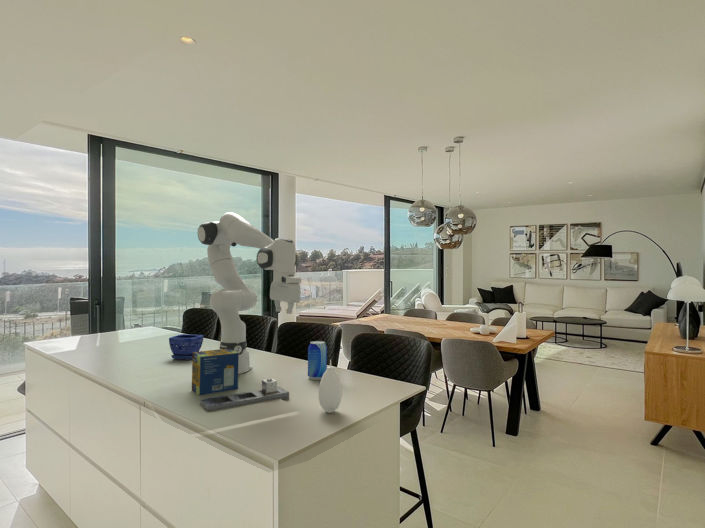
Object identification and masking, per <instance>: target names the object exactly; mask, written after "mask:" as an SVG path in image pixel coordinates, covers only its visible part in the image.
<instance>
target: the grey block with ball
mask: <svg viewBox="0 0 705 528" xmlns="http://www.w3.org/2000/svg"><path fill="white" fill-rule="evenodd" d="M277 387H278V380H277V379H275V378H266V379H262V380H261V389H262V393H263V394H264V395H269V394H274V393H277Z"/></svg>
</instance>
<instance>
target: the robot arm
mask: <svg viewBox="0 0 705 528" xmlns="http://www.w3.org/2000/svg"><path fill="white" fill-rule="evenodd" d="M197 238H198V241H199V242H200V243H201V244H203V245H205V246H207V248H206V249H207V250H206V251H207V259H208V263H209V267H210V270H211V273H212V276H213V279H214V281H215V282H216V284H218V285H219V286H220V287H222V289H220V290H219V289H218V290H217V291H214V292H213V293H211V295H210V298H209V305H210V309H211V310H213V312H215V313H216V315H217V316H218V318H219V323H220V327H221V329H220V330H221V331H220V332H221V335H220V336H221V339H220V340H221V341H220V343H219V349H227V348H230V349H232V350H234V351H235V352H237V353H239V360H238V375H239V374H240V375H241V374H245V373H246V372H248V371H251V370H252V369H253V366H252V365H251V364H250V362H251V361H250V351H248V350H247V344H248V343H247V339H246V337H247V334H246V332H247V331H246V330H247V325H246V323H245V322H244V320H241V317H240V314H239V312H243V311H244V312H245V311H248V310H250V309H253V308H255V306H256V304H257V301H258V299H257V298H258V296H257V293H256V292H255V291H254V290H253V289H252V288H250V287H248V285H247V284H246V282H244V281H243V279H242V277H241V276H240V274H239V272H238V269H237V266H236V264H235V261H234V258H233V255H232V253H231V247H237V245H239V246H240V247H241V246H242V247H247V248H255V249H256V248H257V249H259V250H258V252H257V253H256V264H257V266H259V268H260V269H261V270H266V271H270V270H271V271H273V273H272V274H273V279H272V282H271V283H270V288H269V299H270V300H271V301H274V305H275V312H278V313H279V312H282V307H281V302H284V303H287V308H286V314H288V315H291V314H293V309H294V307H295V303H296V304H297V303H299V302H300V299H301V283H302V278H301V277H300V276H299V275H298V274H296V265H297V264H298V255H297V251H296V244H295V242H294V240H292V239H290V238H284V237H279V238H278V237H277V238H275V239H273V237H271V236H269V235H268V234H266V233H265V232H263V231H261V230H260V229H259V228H257V227H255V226H254V225H252V224H251V223H250V222H249V221H248V220H246V219H245V218H244V217H243V216H241V215H239V214H238V213H235V212H233V211H230V212H225V213H224V214H223V215H222V216H221V217H220V220H219V221H210V222H209V221H208V222H207V221H206V222H203V223H201V224H200V225H199V227H198V228H197Z"/></svg>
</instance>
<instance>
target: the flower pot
mask: <svg viewBox="0 0 705 528" xmlns="http://www.w3.org/2000/svg"><path fill="white" fill-rule="evenodd" d="M168 342H169V348H170V351H171V352H172V355H171V354H170V356H171V358H172V359H173V360H182V359H186V361H190V360H192V352H200V350H201V348H202V345H203V342H204V335H203V334H190V333H187V334H186V333H183V334H177V335H174V336H171V337H169V338H168Z"/></svg>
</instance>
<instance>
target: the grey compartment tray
mask: <svg viewBox="0 0 705 528" xmlns="http://www.w3.org/2000/svg"><path fill="white" fill-rule="evenodd" d="M276 399H277V400H278V399H280V400H282V401H284V400H289V399H290V391H288V390H286V389H284V388H283V387H280V386H279V385H277V393H274V394H269V395H264V394H263V393H262V388H261V389H256V390H255V389H254V390H249V391H244V392H243V391H242V392H238V393H237V392H236V393H233V394H227V395H226V394H225V395H219V396H214V397H210V398H209V397H208V398H204V399H200V401H199V402H200V403H199V404H200V406H202V408H203V409H204V410H206V412H213V411H218V410H219V411H220V410H224V409H228V408H230V409H231V408H233V407H234V408H235V407H240V406H244V405H245V406H246V405H251V404H255V403H256V404H257V403H261V402H265V401H272V400H276Z"/></svg>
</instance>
